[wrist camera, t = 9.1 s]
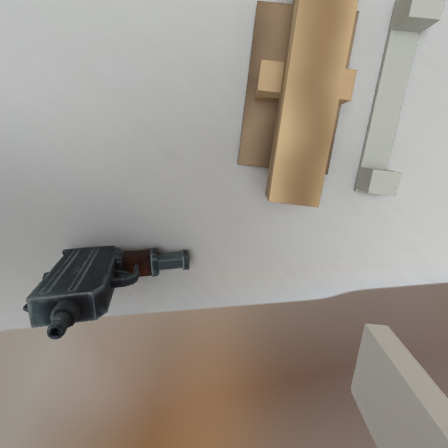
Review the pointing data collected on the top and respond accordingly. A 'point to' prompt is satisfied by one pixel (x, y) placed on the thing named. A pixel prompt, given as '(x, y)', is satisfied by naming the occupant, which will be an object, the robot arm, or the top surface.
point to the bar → (309, 99)
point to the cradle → (393, 93)
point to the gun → (91, 284)
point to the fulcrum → (274, 83)
